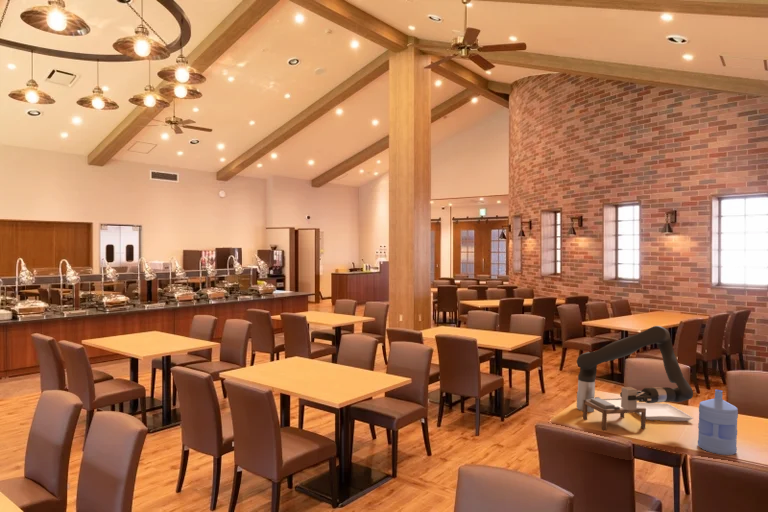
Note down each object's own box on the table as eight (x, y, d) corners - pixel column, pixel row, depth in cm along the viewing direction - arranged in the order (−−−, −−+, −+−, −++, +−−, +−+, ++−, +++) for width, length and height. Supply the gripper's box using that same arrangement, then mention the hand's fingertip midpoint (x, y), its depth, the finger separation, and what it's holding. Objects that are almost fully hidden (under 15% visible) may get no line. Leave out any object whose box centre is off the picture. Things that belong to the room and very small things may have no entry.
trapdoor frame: (603, 430, 271) (604, 408, 270) (583, 418, 289) (583, 397, 289) (645, 428, 275) (646, 406, 275) (622, 416, 294) (623, 396, 293)
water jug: (700, 440, 259) (702, 384, 259) (738, 448, 249) (740, 390, 249) (694, 449, 247) (696, 390, 247) (734, 458, 237) (736, 397, 237)
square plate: (694, 424, 285) (694, 417, 285) (643, 422, 286) (643, 415, 286) (668, 409, 312) (668, 402, 312) (622, 407, 313) (622, 401, 313)
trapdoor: (605, 413, 273) (606, 405, 273) (590, 405, 287) (590, 398, 287) (638, 412, 277) (638, 404, 277) (621, 404, 291) (621, 396, 291)
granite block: (621, 406, 264) (621, 387, 264) (629, 406, 265) (630, 386, 265) (627, 410, 259) (628, 390, 259) (636, 409, 260) (637, 389, 260)
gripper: (644, 383, 272) (615, 385, 269) (664, 391, 258) (634, 393, 254) (644, 398, 272) (615, 399, 269) (664, 406, 258) (633, 408, 255)
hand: (624, 396), depth 262 cm, fingers closed on granite block, 5 cm apart
